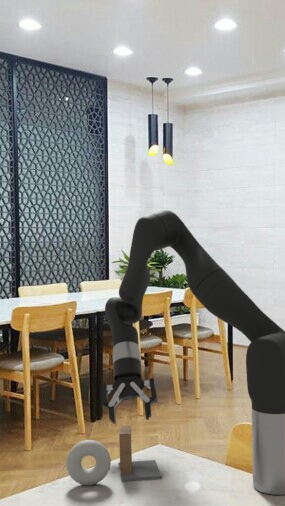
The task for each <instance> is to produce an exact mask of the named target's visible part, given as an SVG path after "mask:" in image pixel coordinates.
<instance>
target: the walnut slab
mask: <svg viewBox="0 0 285 506" xmlns="http://www.w3.org/2000/svg"><path fill="white" fill-rule="evenodd" d="M119 427H120V428H119V435H118V437H119V438H118V439H119V462H120V470H119V475H120V476H121V475H131V470H132V462H133V459H132V457H133V455H132V454H133V453H132V450H133V449H132V425H120V426H119Z"/></svg>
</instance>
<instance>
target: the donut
mask: <svg viewBox="0 0 285 506" xmlns="http://www.w3.org/2000/svg"><path fill="white" fill-rule="evenodd" d="M89 456H90V457H93V458H94V460H95V465H94V466H93V467H92V468H89V469H88V468H85V467H83V465H82V460H83V459H84V458H86V457H89ZM111 460H112V459H111V454H110V452H109V451H108V449H107V447H106V446H105V445H103V443H102V442H100V441H97V440H93V439H85V440H81V441H79V442H78V443H76V444H74V445H73V446H72V447H71V448H70V450H69V452H68V454H67V456H66V462H65V467H66V471H67V474H68V475H69V478H71V480H73V481H75V483H78V484H79V485H82V486H93V485H97V484H98V483H100V482H101V481H103V480H104V479H105V478H106V476H108V473H109V471H110V469H111V463H112V461H111Z"/></svg>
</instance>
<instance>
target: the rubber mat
mask: <svg viewBox="0 0 285 506" xmlns="http://www.w3.org/2000/svg"><path fill="white" fill-rule="evenodd" d="M117 466H118V469H120V461H119V462H118V465H117ZM120 477H121V481H122V482H129V481H130V482H131V481H144V480H156V479H163V478H162V473H161V471H160V468H159V466H158V464H157V461H156V460H155V459H152V460H137V461H136V460H134V461H132V470H131V475H120Z"/></svg>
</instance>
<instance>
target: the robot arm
mask: <svg viewBox="0 0 285 506" xmlns="http://www.w3.org/2000/svg"><path fill="white" fill-rule="evenodd" d="M136 221H137V222H136V223H135V225H134V229H133V234H132V239H131V245H130V250H129V257H128V258H129V259H128V262H127V267H126V271H125V273H124V275H123V278H122V281H121V282H120V286H119V289H118V297H117V296H113V297H110V298H109V299H107V301H106V302H105V306H104V313H105V317H106V320H107V323H108V325H109V329H110V331H111V334H112V348H113V349H112V370H113V383H112V384H107V383H102V384H101V402H100V403H101V406H102V408H103V409H104V410H108V419H109V421H110V422H111V423H112V425H114V424H117V418H116V417H117V416H116V407H117V406H118V404H120V402H121V401H122V400H123V401H128V400H136V399H137V398H138V399H140V401H141V402H143V403H144V416H145V420H146V421H149V420H150V418H152V404H157V403H158V396H157V395H158V394H157V388H156V383H155V379H154V378H153V377H150V378H149V379H147V380H144V379H143V370H142V369H143V368H142V358H141V357H142V356H141V351H140V345H139V343H140V342H139V332H138V329H137V328H136V327H135V326H133V325H130V324H136V323H138V322H139V321H141V319H142V315H143V300H144V296H145V294H146V291H147V289H148V287H149V284H150V281H151V271H150V268H149V265H148V261H149V260H150V258H151V256H152V254H153V253H154V252H156V251H160V250H162V249H165V248H168V247H170V248H172V249H173V250H174V251H175V252H176V253H177V254H178V256H179V257H180V258H181V260H182V261H183V263H184V266H185V274H186V281H187V284H188V289H189V290H190V292H191V294H193V296H194V297H195V298H196V300H198V302H200V304H201V305H202V306H203V307H204V308H205V309H206V310H207V311H208V312H209V313H211V314H212V315H213V316H215V317H216V318H218V319H219V320H221V321H223V322H224V323H226V324H228V325H230V326H231V327H233V328H235V329H236V330H238V331H239V332H240V333H241V334H243V335H244V337H245V338H247V340H248V341H250V343H249V345H248V347H247V350H246V355H245V370H246V385H247V393H248V396H249V399H250V401H251V439H252V440H251V441H252V442H251V444H252V447H251V449H252V450H251V451H252V486H253V488H254V489H255V490H257V491H258V492H261V493H263V494H267V495H275V496H277V495H278V496H281V495H285V329H283V328H282V327H281V326H280V325H278V324H277V323H276V322H275V321H273V319H271V317H269V316H268V315H267V314H266V313H265V312H264V311H263V310H262V309H261V308H260V307H258V305H257V304H256V303H255V302H254V301H253V300H252V299H251V297H250V296H249V295H248V294H246V293H245V291H244V290H243V289H242V288H241V287H240V286H239V285H238V284H237V282H235V280H234V279H233V277H231V276H230V275H229V274H228V272H226V271H225V269H223V268H222V267H221V266H220V265H219V264H218V263H217V262H216V260H214V258H213V257H212V256H211V255H210V254H209V253H208V252H207V250H205V249H204V247H203V246H202V245H201V244H200V243H199V241H198V240H197V239H196V238H195V236H194V235H193V233H192V232H191V231H190V230H189V228H188V227H187V226H186V224H185V223H184V221H182V219H181V218H180V217H179V216H178V215H177V214H176V213H175V212H173V211H171V210H167V209H165V210H160V211H156V212H152V213H149V214H145V215H143V216H141V217H139V218H138V219H137V220H136ZM145 386H146V387H147V389H148V390H149V389H150V394H151V396H150V397H148V396H147V394H146V393H145V392H144V391H143V390H144V388H145ZM111 391H114V394H113V395H112V398H110V399H111V400H110V401H108V399H109V394H111Z"/></svg>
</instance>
